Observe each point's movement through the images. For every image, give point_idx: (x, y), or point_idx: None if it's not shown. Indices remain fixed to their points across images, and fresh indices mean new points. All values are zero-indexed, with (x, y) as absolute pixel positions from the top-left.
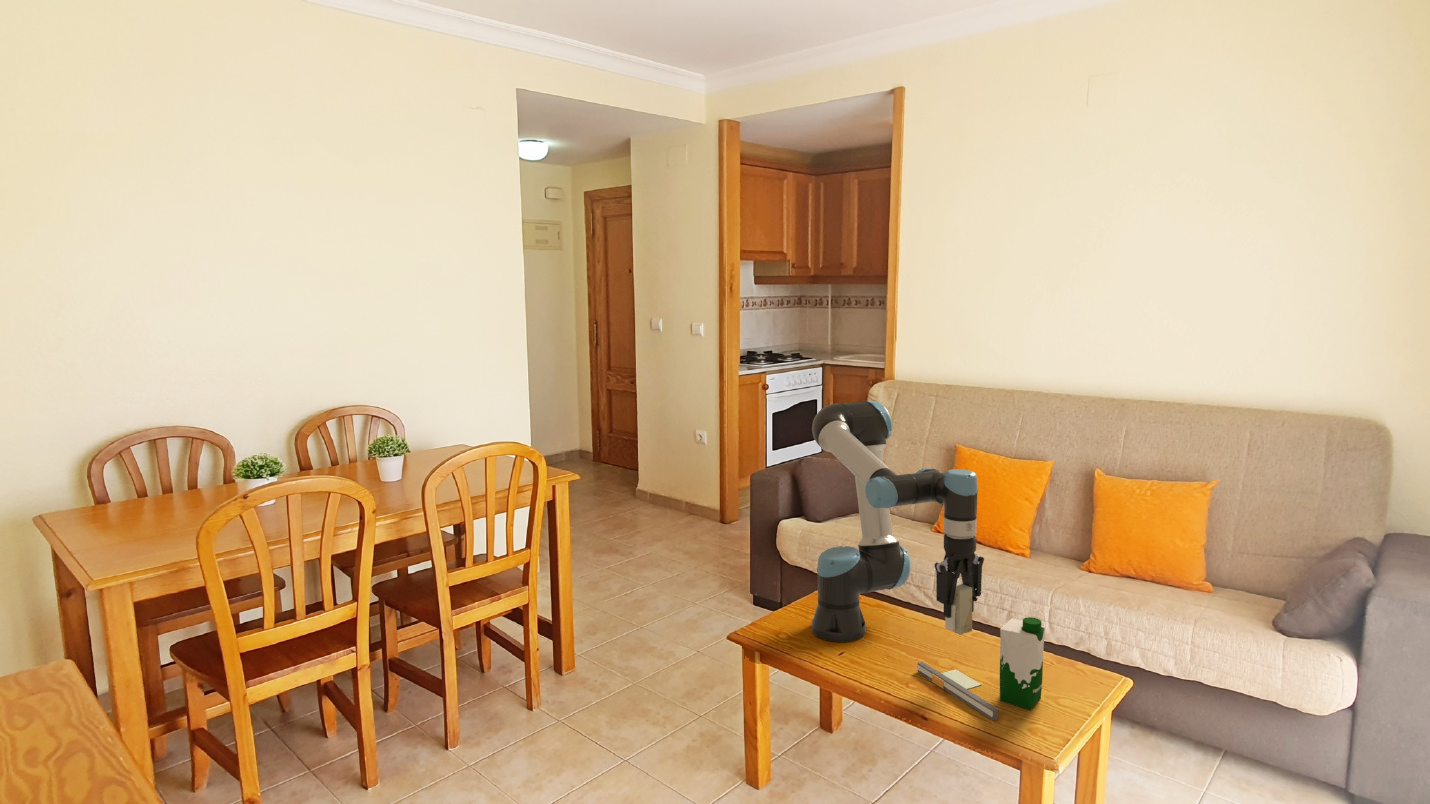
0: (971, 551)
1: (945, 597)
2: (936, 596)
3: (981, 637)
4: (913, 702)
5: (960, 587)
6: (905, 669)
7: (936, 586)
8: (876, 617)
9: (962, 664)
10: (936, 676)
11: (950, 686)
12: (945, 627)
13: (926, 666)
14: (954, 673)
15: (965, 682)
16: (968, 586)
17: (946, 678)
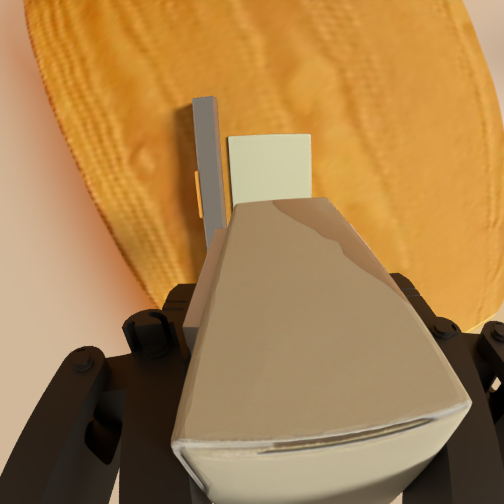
0: None
1: (108, 448)
2: (53, 378)
3: (475, 49)
4: (112, 231)
5: None
6: (178, 74)
7: (8, 459)
8: None
9: (349, 117)
10: (197, 190)
11: (206, 241)
12: (216, 231)
13: (204, 128)
14: (289, 152)
15: None
16: (394, 496)
17: (213, 215)
